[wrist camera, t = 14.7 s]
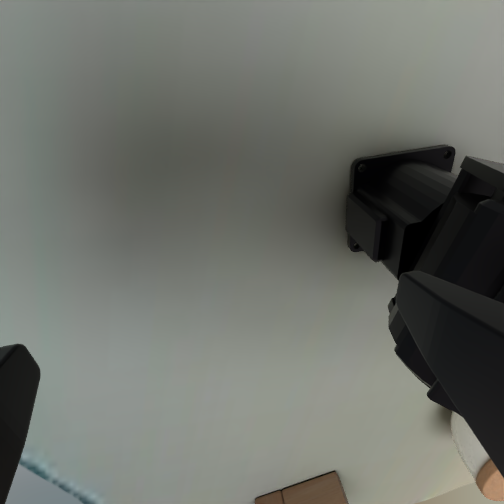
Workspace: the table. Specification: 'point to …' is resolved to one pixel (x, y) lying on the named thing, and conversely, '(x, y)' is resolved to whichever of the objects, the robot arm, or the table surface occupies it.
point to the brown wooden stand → (309, 492)
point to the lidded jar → (477, 459)
